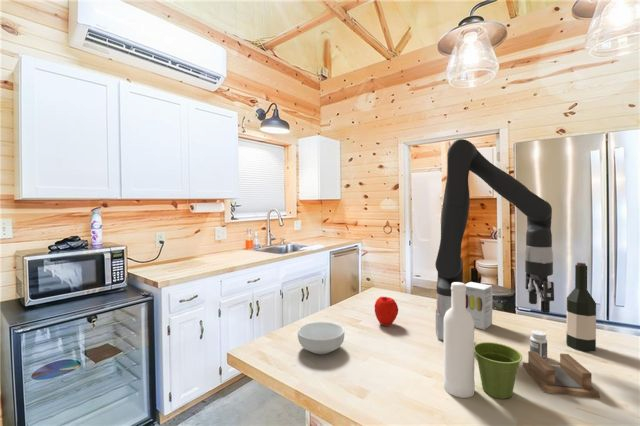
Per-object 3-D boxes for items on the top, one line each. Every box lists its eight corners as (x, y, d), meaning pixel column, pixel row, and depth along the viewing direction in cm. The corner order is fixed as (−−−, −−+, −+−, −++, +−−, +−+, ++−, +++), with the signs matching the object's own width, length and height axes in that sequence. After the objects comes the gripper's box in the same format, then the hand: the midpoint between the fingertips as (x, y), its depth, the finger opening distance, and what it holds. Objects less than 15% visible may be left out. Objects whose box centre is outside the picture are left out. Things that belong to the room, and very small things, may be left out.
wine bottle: (602, 353, 106) (603, 265, 105) (574, 351, 108) (574, 265, 107) (586, 342, 114) (587, 261, 113) (560, 340, 116) (561, 260, 115)
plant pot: (466, 378, 92) (466, 341, 92) (508, 380, 91) (508, 342, 91) (483, 404, 81) (483, 361, 80) (531, 406, 79) (532, 363, 79)
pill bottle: (544, 355, 105) (544, 330, 105) (549, 361, 101) (549, 336, 101) (528, 353, 107) (528, 329, 107) (532, 359, 103) (532, 334, 102)
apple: (401, 322, 136) (400, 295, 135) (393, 330, 127) (393, 301, 127) (379, 318, 141) (379, 292, 141) (371, 326, 133) (370, 297, 132)
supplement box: (461, 323, 133) (460, 285, 133) (469, 318, 140) (469, 281, 139) (484, 330, 126) (484, 289, 126) (493, 324, 133) (493, 285, 132)
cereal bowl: (351, 343, 117) (350, 325, 116) (334, 364, 102) (333, 343, 101) (310, 336, 124) (310, 318, 124) (289, 355, 109) (289, 335, 108)
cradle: (544, 392, 85) (544, 372, 85) (522, 365, 99) (522, 348, 99) (599, 397, 82) (599, 377, 82) (569, 369, 96) (569, 352, 96)
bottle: (438, 382, 91) (438, 280, 90) (464, 380, 91) (464, 279, 90) (452, 399, 83) (452, 288, 82) (480, 397, 83) (480, 286, 82)
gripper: (517, 255, 111) (517, 300, 111) (536, 263, 97) (536, 314, 97) (541, 256, 109) (541, 301, 110) (563, 264, 95) (563, 316, 96)
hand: (538, 307), depth 104 cm, fingers open, 8 cm apart
